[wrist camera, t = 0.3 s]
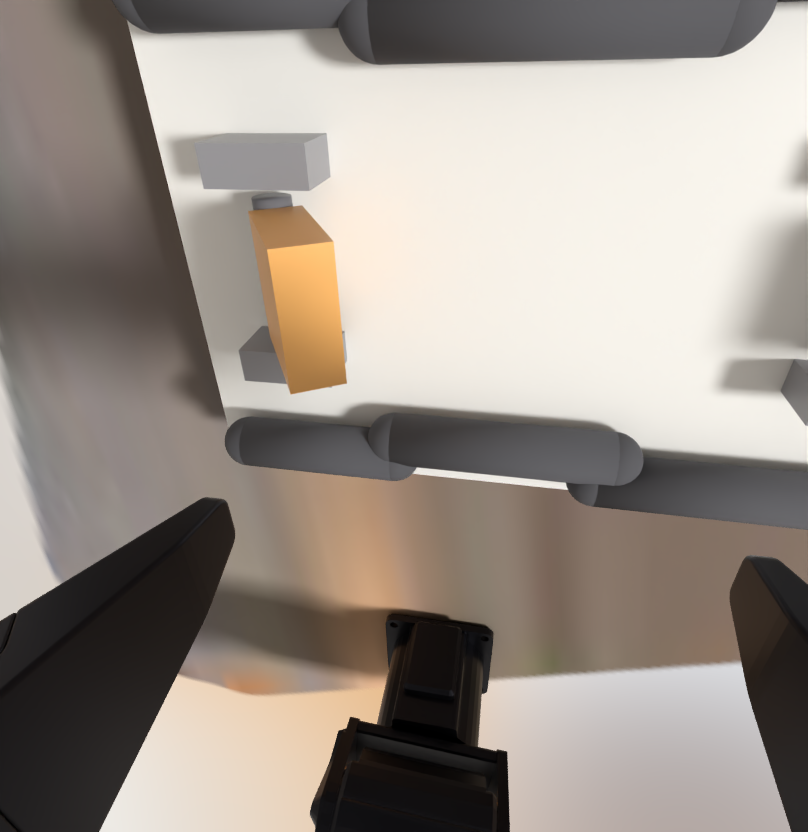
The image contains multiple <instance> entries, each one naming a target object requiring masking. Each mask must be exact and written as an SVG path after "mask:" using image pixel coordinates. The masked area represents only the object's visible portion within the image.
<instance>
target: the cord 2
mask: <svg viewBox="0 0 808 832" xmlns="http://www.w3.org/2000/svg"><path fill="white" fill-rule="evenodd" d="M225 447H226V450H227V452H228V454H229V455H230V456H231V458H232V459H234V460H235V461H236V462H238V463H241V464H243V465H249V466H259V467H268V468H277V469H287V470H296V471H305V472H315V473H324V474H333V475H343V476H352V477H361V478H370V479H380V480H389V481H398V480H403V479H405V478H407V477H409V476H410V475H411V474H412V473H413V472H414V471H415V470H416V468H427V469H437V470H447V471H457V472H466V473H476V474H486V475H496V476H505V477H515V478H525V479H535V480H544V481H554V482H564V483H566V486H567V488H568V491H569V492H570V494H571V495H572V496H573V497H574V498H575V499H576V500H577V501H579V502H580V503H582V504H585V505H588V506H593V507H602V508H611V509H620V510H630V511H639V512H648V513H657V514H666V515H676V516H685V517H694V518H703V519H712V520H722V521H731V522H740V523H749V524H758V525H768V526H777V527H786V528H795V529H804V530H808V472H804V471H793V470H782V469H771V468H761V467H750V466H739V465H728V464H718V463H707V462H696V461H685V460H674V459H664V458H653V457H643V453H642V450H641V448H640V446H639V445H638V443H637V442H636V441H635V440H634V439H633V438H631V437H630V436H628V435H626V434H624V433H621V432H615V431H603V430H592V429H580V428H569V427H557V426H545V425H534V424H522V423H511V422H499V421H487V420H476V419H464V418H453V417H441V416H429V415H418V414H406V413H387V414H384V415H382V416H380V417H379V418H377V419H376V420H375V421H374V422H373V424H372V425H371V427H363V426H352V425H341V424H330V423H319V422H308V421H297V420H286V419H275V418H264V417H253V416H250V417H244V418H240V419H238V420H237V421H235V422H234V423H233V424H232V425H231V426H230V427H229V429H228V430H227V433H226V436H225Z"/></svg>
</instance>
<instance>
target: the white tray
mask: <svg viewBox="0 0 808 832" xmlns="http://www.w3.org/2000/svg"><path fill="white" fill-rule="evenodd" d="M127 22H128V26H129V30H130V34H131V38H132V42H133V46H134V50H135V54H136V58H137V62H138V66H139V70H140V74H141V78H142V82H143V86H144V90H145V94H146V98H147V102H148V106H149V110H150V114H151V118H152V122H153V127H154V131H155V135H156V139H157V143H158V147H159V151H160V155H161V159H162V163H163V167H164V171H165V175H166V179H167V183H168V187H169V191H170V195H171V199H172V203H173V207H174V211H175V215H176V219H177V223H178V227H179V231H180V235H181V239H182V243H183V247H184V251H185V255H186V259H187V263H188V267H189V271H190V275H191V279H192V283H193V287H194V291H195V295H196V299H197V303H198V307H199V311H200V315H201V319H202V323H203V328H204V332H205V336H206V340H207V344H208V348H209V352H210V356H211V360H212V364H213V368H214V372H215V376H216V380H217V384H218V388H219V392H220V396H221V400H222V404H223V408H224V412H225V416H226V420H227V424H228V428H229V427H230V426H231V425H232V424H233V423H234V422H235V421H237V420H238V419H240V418H244V417H250V416H253V417H264V418H275V419H286V420H297V421H308V422H319V423H330V424H341V425H352V426H363V427H371V425H372V424H373V422H374V421H375V420H376V419H377V418H379V417H380V416H382V415H384V414H387V413H406V414H418V415H429V416H441V417H453V418H464V419H476V420H487V421H499V422H511V423H522V424H534V425H545V426H557V427H569V428H580V429H592V430H603V431H615V432H621V433H624V434H626V435H628V436H630V437H631V438H633V439H634V440H635V441H636V442H637V443H638V445H639V446H640V448H641V450H642V453H643V457H653V458H664V459H674V460H685V461H696V462H707V463H718V464H728V465H739V466H750V467H761V468H771V469H782V470H793V471H804V472H808V1H798V2H777V4H776V7H775V10H774V12H773V14H772V16H771V18H770V20H769V21H768V23H767V24H766V26H765V27H764V29H763V30H762V31H761V32H760V33H759V34H758V35H757V36H756V37H755V39H753V40H752V41H751V42H750V43H748V44H747V45H746V46H744V47H743V48H741V49H740V50H738V51H736V52H734V53H731V54H728V55H725V56H722V57H714V58H674V59H627V60H579V61H532V62H485V63H438V64H391V65H376V64H370V63H367V62H364V61H362V60H360V59H359V58H357V57H356V56H355V55H354V54H353V53H352V52H351V51H350V50H349V49H348V48H347V46H346V45H345V43H344V41H343V39H342V37H341V35H340V32H339V29H338V28H321V29H291V30H261V31H231V32H200V33H170V34H156V33H149V32H146V31H143V30H141V29H139V28H138V27H136V26H134V25H133V24H131V23H130V22H129V21H128V20H127ZM276 192H279V193H288V194H291V196H292V203H293V206H301V205H302V206H303V207H304V208H305V209H306V210H307V211H308V213H309V214H310V215H311V216H312V217H313V218H314V219H315V221H316V222H317V223H318V224H319V225H320V226H321V228H322V229H323V230H324V231H325V232H326V233H327V234H328V236H329V237H330V238H331V239H332V240H333V241H334V251H335V262H336V273H337V283H338V294H339V305H340V315H341V326H342V337H343V347H344V358H345V369H346V379H347V384H342V385H337V386H332V387H327V388H322V389H316V390H311V391H306V392H301V393H296V394H290V391H289V388H288V386H287V383H286V380H285V377H284V374H283V371H282V369H281V366H280V363H279V360H278V357H277V354H276V352H275V349H274V346H273V343H272V340H271V337H270V333H269V328H268V322H267V316H266V311H265V305H264V299H263V294H262V288H261V282H260V277H259V271H258V265H257V260H256V254H255V248H254V242H253V237H252V231H251V225H250V220H249V214H248V211H253V206H252V200H251V198H252V197H253V196H255V195H259V194H264V193H276ZM412 474H421V475H431V476H440V477H450V478H460V479H469V480H479V481H488V482H498V483H507V484H517V485H527V486H536V487H546V488H555V489H565V490H568V488H567V486H566V483H564V482H554V481H544V480H535V479H525V478H515V477H505V476H496V475H486V474H476V473H466V472H457V471H447V470H437V469H427V468H416V470H415V471H414V472H413V473H412Z"/></svg>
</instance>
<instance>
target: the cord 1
mask: <svg viewBox="0 0 808 832" xmlns="http://www.w3.org/2000/svg"><path fill="white" fill-rule="evenodd" d="M798 1H808V0H112V2H113V3H114V5H115V6H116V8H117V9H118V11H119V12H120V13H121V15H122V16H123V17H124V18H126V19H127V20H128V21H129V22H130V23H131V24H133V25H134V26H136V27H138V28H139V29H141V30H143V31H146V32H149V33H156V34H170V33H200V32H231V31H261V30H291V29H321V28H338V29H339V32H340V35H341V37H342V39H343V41H344V43H345V45H346V46H347V48H348V49H349V50H350V51H351V52H352V53H353V54H354V55H355V56H356V57H357V58H359V59H360V60H362V61H364V62H367V63H370V64H376V65H391V64H438V63H485V62H532V61H579V60H627V59H674V58H714V57H722V56H725V55H728V54H731V53H734V52H736V51H738V50H740V49H741V48H743V47H744V46H746V45H747V44H748V43H750V42H751V41H752V40H753V39H755V37H756V36H757V35H758V34H759V33H760V32H761V31H762V30H763V29H764V27H765V26H766V24H767V23H768V21H769V20H770V18H771V16H772V14H773V12H774V10H775V7H776V4H777V2H798Z"/></svg>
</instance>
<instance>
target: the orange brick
mask: <svg viewBox="0 0 808 832" xmlns="http://www.w3.org/2000/svg"><path fill="white" fill-rule="evenodd" d="M251 200H252V206H253V211H248V214H249V220H250V225H251V231H252V237H253V242H254V248H255V254H256V260H257V265H258V271H259V277H260V282H261V288H262V294H263V299H264V305H265V311H266V316H267V322H268V328H269V333H270V337H271V340H272V343H273V346H274V349H275V352H276V354H277V357H278V360H279V363H280V366H281V369H282V371H283V374H284V377H285V380H286V383H287V386H288V388H289V391H290V394H296V393H301V392H306V391H311V390H316V389H322V388H327V387H332V386H337V385H342V384H347V379H346V369H345V358H344V347H343V337H342V326H341V315H340V305H339V294H338V283H337V273H336V262H335V251H334V241H333V240H332V239H331V238H330V237H329V236H328V234H327V233H326V232H325V231H324V230H323V229H322V228H321V226H320V225H319V224H318V223H317V222H316V221H315V219H314V218H313V217H312V216H311V215H310V214H309V213H308V211H307V210H306V209H305V208H304V207H303V206H302V205H301V206H293V203H292V196H291V194H288V193H279V192H276V193H264V194H259V195H255V196H253V197H252V198H251Z"/></svg>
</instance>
